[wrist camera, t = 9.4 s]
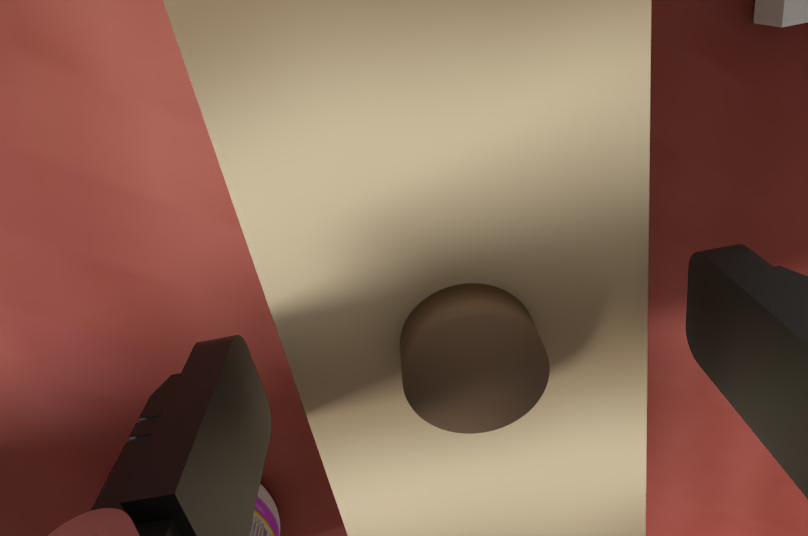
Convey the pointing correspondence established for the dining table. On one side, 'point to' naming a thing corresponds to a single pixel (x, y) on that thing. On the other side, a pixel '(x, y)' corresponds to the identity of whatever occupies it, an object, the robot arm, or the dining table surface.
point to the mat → (780, 12)
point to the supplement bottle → (265, 516)
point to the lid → (448, 246)
